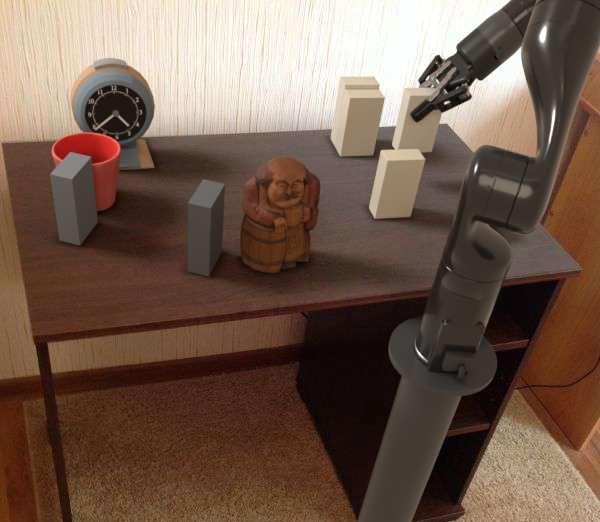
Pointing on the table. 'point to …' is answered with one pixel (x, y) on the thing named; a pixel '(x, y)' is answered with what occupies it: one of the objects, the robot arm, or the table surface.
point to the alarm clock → (115, 108)
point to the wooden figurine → (279, 215)
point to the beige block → (416, 132)
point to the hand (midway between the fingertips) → (409, 113)
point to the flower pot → (94, 162)
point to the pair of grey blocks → (83, 217)
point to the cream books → (361, 142)
